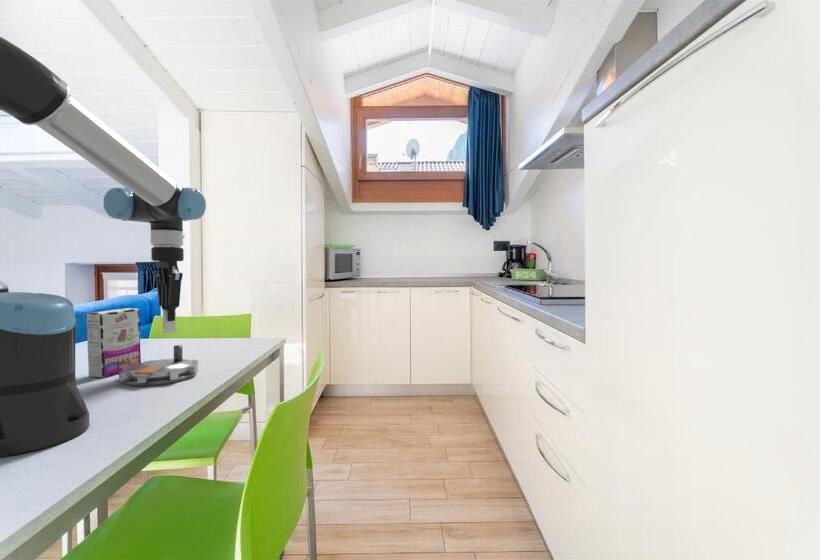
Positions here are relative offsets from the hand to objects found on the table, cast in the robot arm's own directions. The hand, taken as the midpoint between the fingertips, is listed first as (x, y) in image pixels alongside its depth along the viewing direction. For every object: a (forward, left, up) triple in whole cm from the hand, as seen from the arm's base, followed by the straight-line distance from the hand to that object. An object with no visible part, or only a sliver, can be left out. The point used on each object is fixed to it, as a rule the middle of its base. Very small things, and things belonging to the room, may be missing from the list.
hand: (169, 332), depth 109 cm
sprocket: (-5, -8, -10) cm, 14 cm away
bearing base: (-5, -8, -10) cm, 14 cm away
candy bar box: (-11, +6, -10) cm, 16 cm away
